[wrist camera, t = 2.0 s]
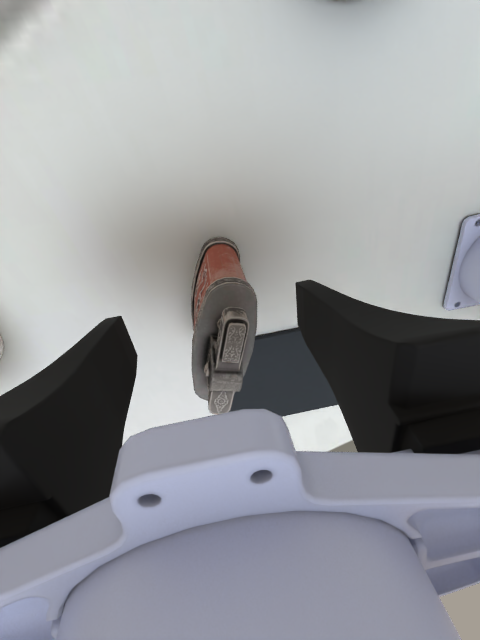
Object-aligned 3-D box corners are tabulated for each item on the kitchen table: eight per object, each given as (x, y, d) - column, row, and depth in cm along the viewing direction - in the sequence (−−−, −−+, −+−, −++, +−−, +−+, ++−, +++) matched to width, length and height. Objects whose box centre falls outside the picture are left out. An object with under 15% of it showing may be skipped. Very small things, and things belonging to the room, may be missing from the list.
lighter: (228, 335, 26) (246, 435, 18) (186, 332, 25) (185, 435, 17) (246, 240, 22) (281, 311, 14) (197, 234, 21) (203, 304, 13)
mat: (346, 317, 27) (349, 320, 26) (343, 399, 32) (345, 403, 32) (208, 345, 26) (208, 349, 26) (228, 423, 32) (228, 427, 31)
